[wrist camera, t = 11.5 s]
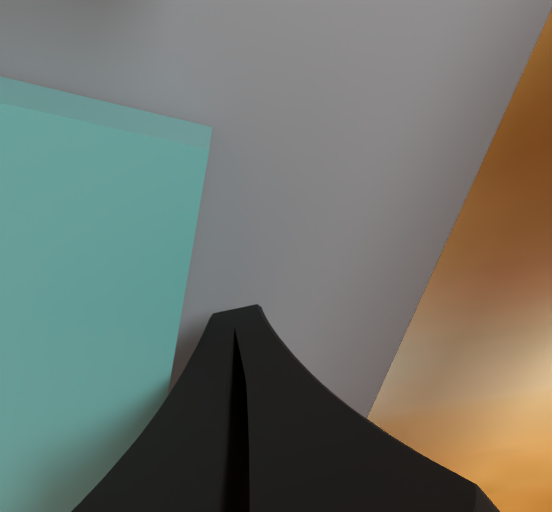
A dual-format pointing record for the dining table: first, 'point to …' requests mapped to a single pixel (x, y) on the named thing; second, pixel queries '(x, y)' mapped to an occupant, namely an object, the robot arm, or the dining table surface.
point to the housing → (87, 283)
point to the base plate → (303, 146)
